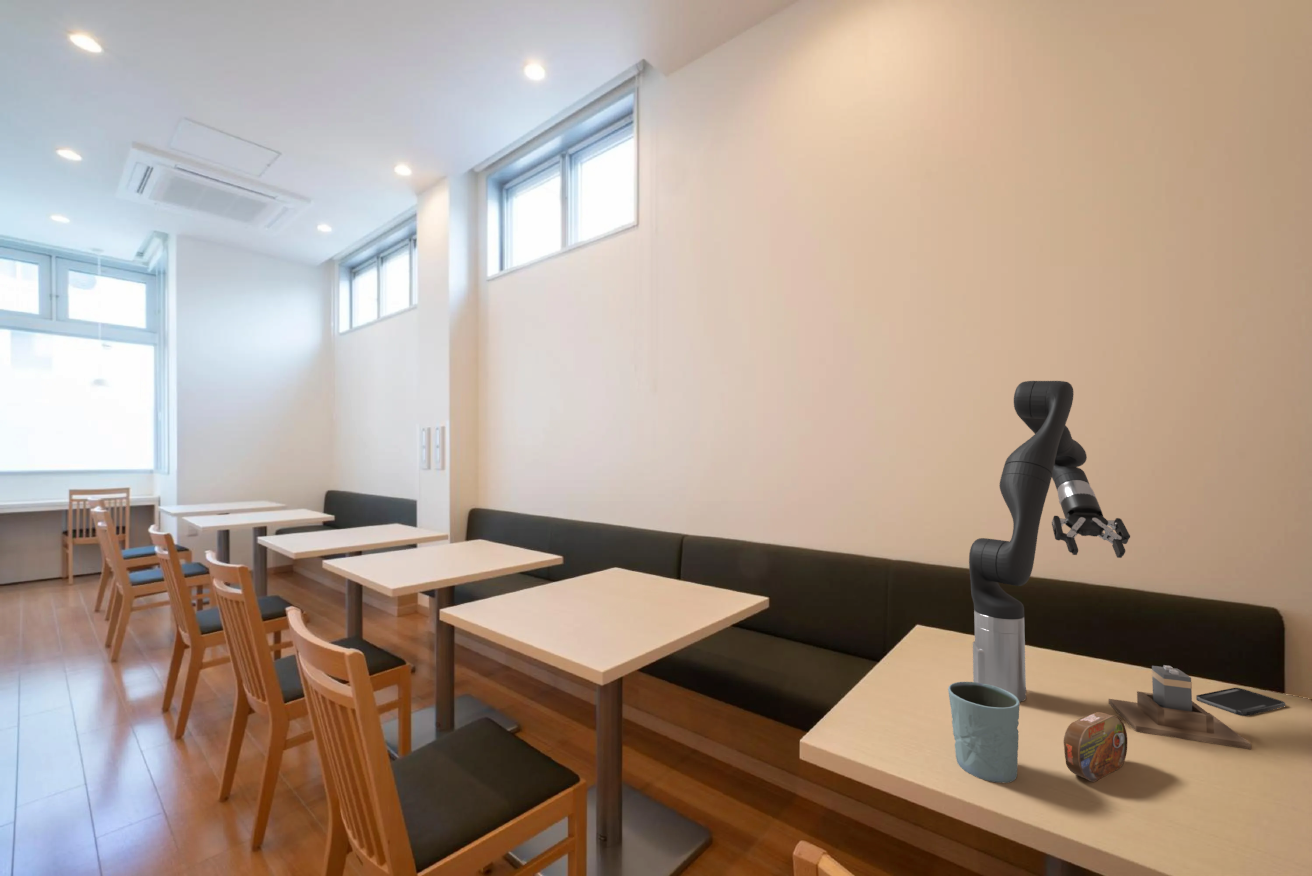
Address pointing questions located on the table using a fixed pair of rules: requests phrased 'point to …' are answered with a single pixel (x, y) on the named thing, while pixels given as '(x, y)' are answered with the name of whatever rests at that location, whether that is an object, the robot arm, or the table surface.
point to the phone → (1240, 701)
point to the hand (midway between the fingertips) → (1098, 554)
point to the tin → (1095, 745)
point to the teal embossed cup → (985, 730)
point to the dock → (1176, 722)
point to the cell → (1171, 688)
